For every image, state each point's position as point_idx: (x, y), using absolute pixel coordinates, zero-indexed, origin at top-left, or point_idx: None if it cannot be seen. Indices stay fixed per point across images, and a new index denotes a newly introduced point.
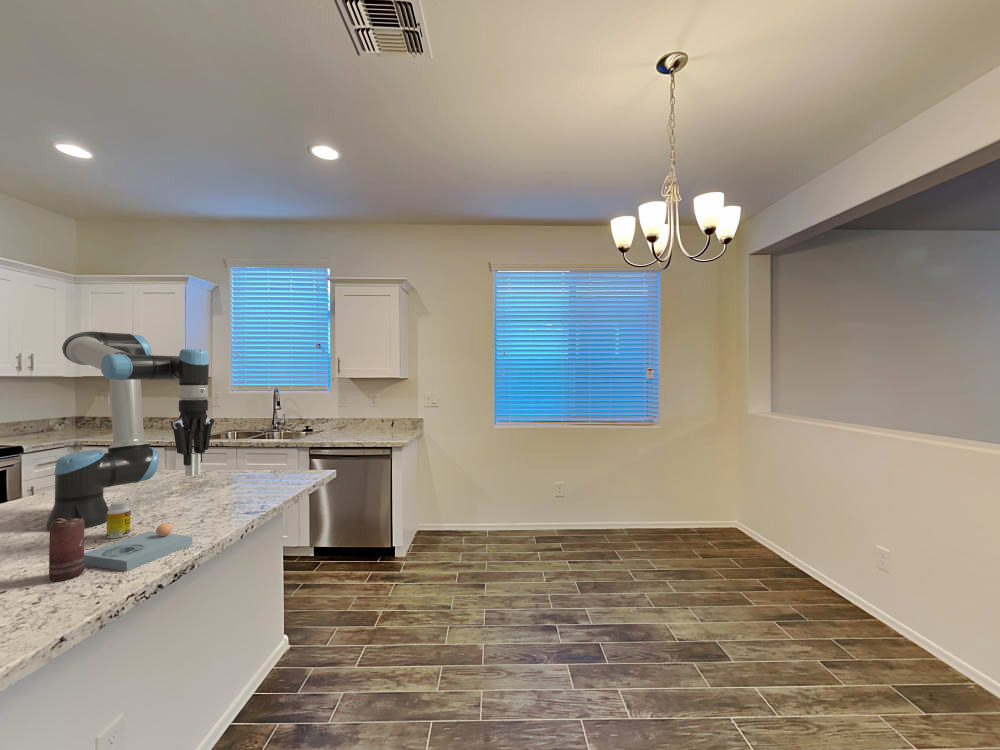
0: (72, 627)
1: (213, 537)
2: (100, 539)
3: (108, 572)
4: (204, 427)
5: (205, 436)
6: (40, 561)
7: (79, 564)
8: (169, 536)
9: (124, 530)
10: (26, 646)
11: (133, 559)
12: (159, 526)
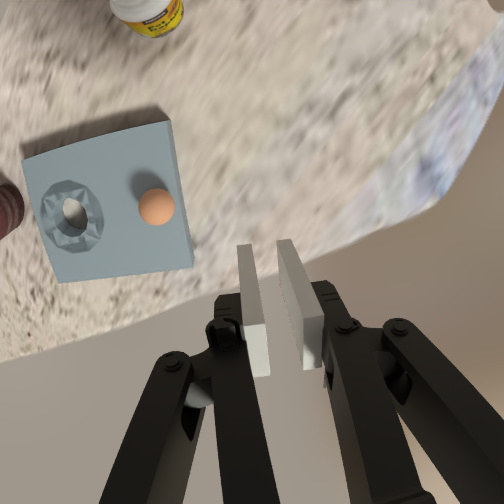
0: (13, 358)
1: None
2: None
3: None
4: (487, 493)
5: (428, 442)
6: (12, 71)
7: (8, 233)
8: None
9: (153, 35)
10: None
11: (69, 281)
12: (141, 211)
